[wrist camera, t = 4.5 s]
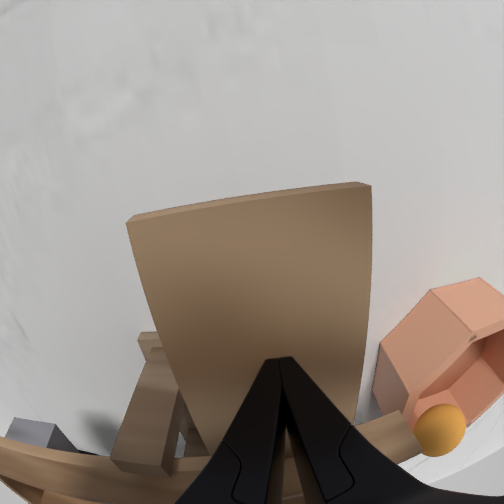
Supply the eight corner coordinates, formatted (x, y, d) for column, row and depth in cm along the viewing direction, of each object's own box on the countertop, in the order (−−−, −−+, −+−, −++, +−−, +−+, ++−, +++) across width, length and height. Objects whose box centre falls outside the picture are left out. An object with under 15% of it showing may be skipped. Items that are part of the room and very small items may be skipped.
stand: (233, 432, 21) (229, 528, 12) (186, 433, 21) (172, 524, 12) (201, 328, 17) (174, 460, 9) (141, 332, 17) (88, 448, 9)
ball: (396, 451, 13) (424, 417, 15) (437, 474, 10) (462, 436, 12) (410, 421, 12) (438, 384, 14) (458, 446, 9) (481, 404, 11)
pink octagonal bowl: (471, 378, 20) (495, 412, 15) (366, 414, 21) (382, 460, 16) (506, 269, 16) (546, 298, 11) (385, 298, 16) (422, 347, 12)
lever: (367, 440, 16) (393, 493, 11) (49, 463, 14) (36, 508, 9) (401, 169, 10) (500, 192, 5) (-74, 266, 8) (-123, 304, 3)
